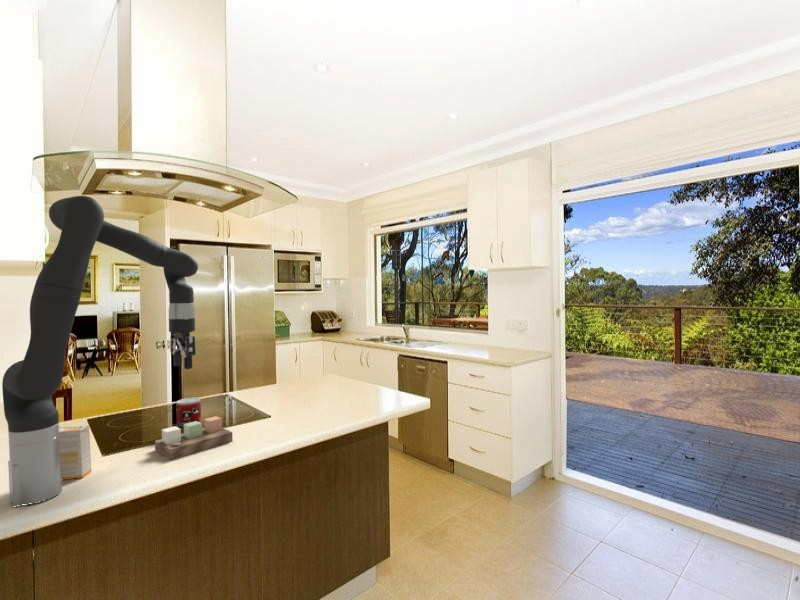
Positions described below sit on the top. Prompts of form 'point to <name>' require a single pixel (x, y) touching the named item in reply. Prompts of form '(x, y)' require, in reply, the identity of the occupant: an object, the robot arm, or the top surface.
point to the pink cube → (212, 424)
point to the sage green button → (192, 429)
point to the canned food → (188, 411)
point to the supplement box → (75, 451)
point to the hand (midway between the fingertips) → (182, 367)
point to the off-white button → (171, 435)
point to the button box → (193, 443)
